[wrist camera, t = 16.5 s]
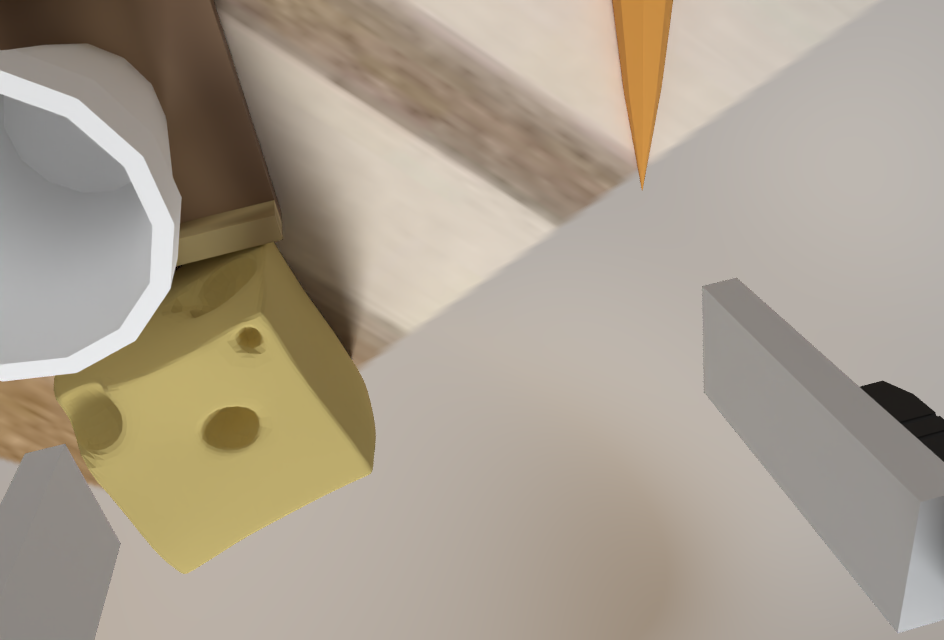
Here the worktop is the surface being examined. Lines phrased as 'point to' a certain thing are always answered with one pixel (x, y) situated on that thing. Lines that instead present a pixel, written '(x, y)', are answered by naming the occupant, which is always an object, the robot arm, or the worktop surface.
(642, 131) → the carrot
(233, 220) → the rack
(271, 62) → the worktop surface
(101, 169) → the foam cup
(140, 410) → the cheese
